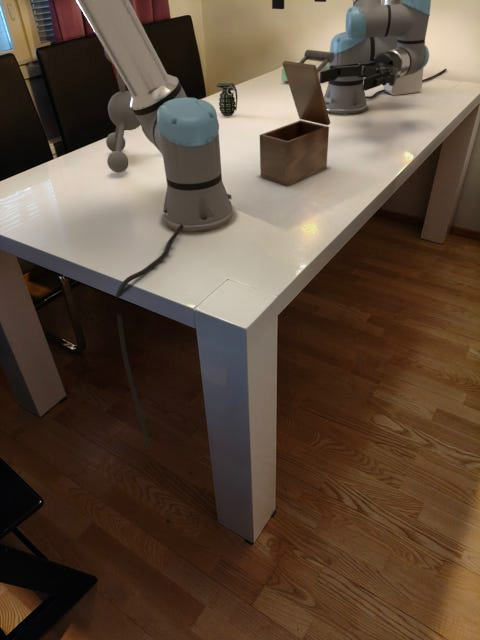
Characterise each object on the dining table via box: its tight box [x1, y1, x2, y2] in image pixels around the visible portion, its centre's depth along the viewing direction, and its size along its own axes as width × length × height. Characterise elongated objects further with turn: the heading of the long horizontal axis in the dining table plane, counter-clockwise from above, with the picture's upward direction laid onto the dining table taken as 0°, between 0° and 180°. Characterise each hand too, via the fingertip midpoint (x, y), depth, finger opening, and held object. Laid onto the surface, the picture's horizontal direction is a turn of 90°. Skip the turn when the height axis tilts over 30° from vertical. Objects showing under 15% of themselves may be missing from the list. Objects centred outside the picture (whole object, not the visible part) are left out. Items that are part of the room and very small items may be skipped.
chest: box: [259, 119, 330, 187], centre depth 122 cm, size 15×9×10 cm, turn 133°
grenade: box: [215, 82, 238, 117], centre depth 166 cm, size 7×6×10 cm
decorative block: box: [281, 59, 329, 82], centre depth 206 cm, size 26×6×20 cm
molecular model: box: [103, 47, 141, 174], centre depth 130 cm, size 24×22×30 cm
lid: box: [281, 49, 334, 126], centre depth 117 cm, size 16×9×8 cm
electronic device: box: [382, 68, 424, 96], centre depth 174 cm, size 12×8×30 cm, turn 105°
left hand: (299, 5), depth 104 cm, fingers open, 13 cm apart
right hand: (342, 81), depth 123 cm, fingers open, 13 cm apart
